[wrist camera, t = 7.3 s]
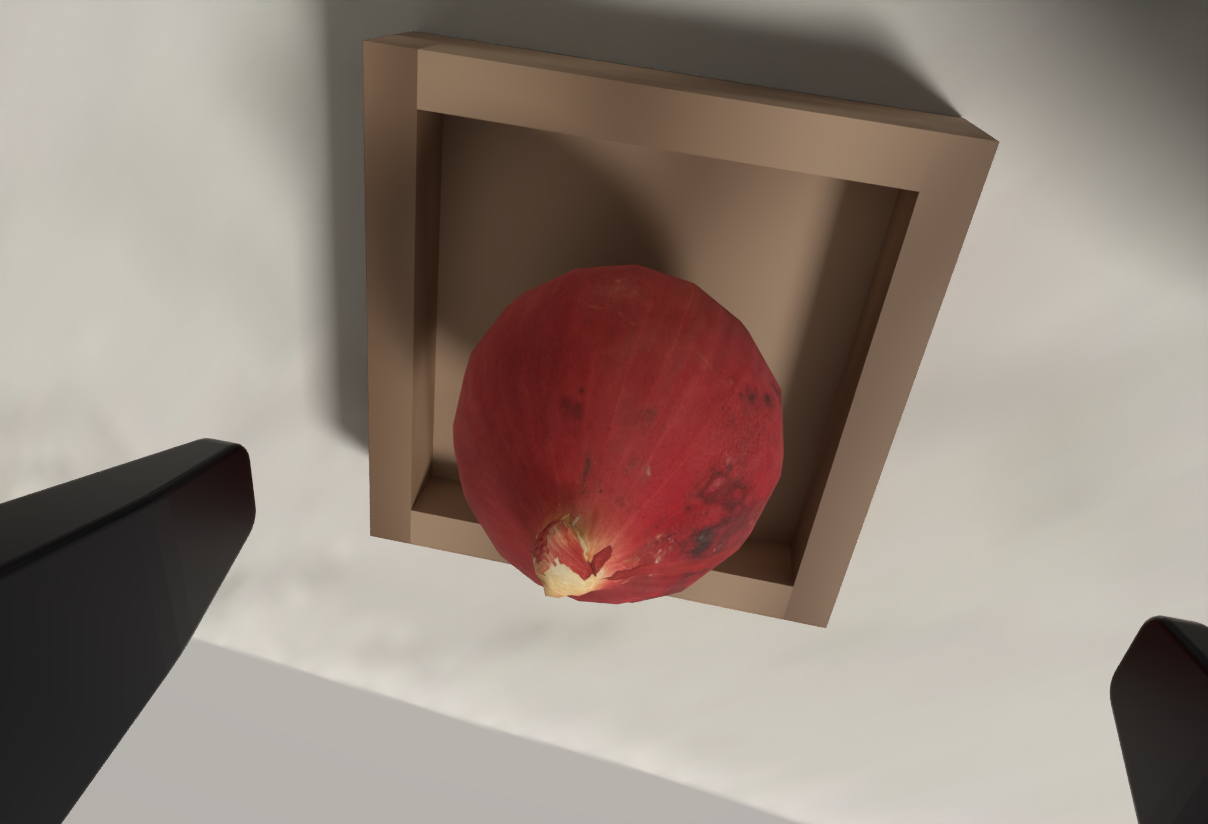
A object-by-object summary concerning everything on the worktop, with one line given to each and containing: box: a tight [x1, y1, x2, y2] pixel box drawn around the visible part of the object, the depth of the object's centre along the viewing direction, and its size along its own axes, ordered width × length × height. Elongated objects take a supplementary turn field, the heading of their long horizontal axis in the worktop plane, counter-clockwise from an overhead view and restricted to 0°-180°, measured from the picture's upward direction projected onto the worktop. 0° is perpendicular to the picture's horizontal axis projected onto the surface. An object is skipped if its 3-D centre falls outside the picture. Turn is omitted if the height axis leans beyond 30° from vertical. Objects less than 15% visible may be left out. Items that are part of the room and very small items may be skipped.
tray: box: [363, 31, 999, 628], centre depth 18 cm, size 11×11×2 cm
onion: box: [453, 264, 784, 604], centre depth 14 cm, size 6×6×8 cm
